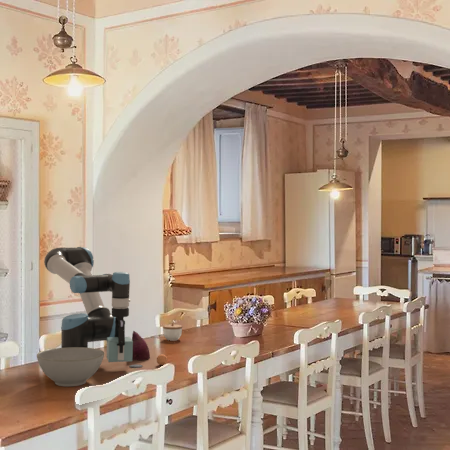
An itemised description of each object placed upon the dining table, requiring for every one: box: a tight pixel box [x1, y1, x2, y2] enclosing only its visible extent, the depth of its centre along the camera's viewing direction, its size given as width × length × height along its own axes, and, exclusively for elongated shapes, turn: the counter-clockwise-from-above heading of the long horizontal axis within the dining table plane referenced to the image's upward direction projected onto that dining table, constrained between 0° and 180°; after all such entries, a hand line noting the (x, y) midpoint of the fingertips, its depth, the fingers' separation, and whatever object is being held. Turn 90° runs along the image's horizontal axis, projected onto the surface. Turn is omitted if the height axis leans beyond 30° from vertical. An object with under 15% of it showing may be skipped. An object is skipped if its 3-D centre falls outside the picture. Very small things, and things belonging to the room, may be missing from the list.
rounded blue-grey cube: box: [106, 336, 133, 363], centre depth 304 cm, size 10×10×9 cm
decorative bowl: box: [36, 347, 105, 387], centre depth 280 cm, size 27×27×12 cm
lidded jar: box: [162, 322, 183, 342], centre depth 381 cm, size 11×11×9 cm
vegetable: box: [131, 330, 151, 361], centre depth 330 cm, size 10×10×15 cm
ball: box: [156, 353, 168, 366], centre depth 315 cm, size 5×5×5 cm
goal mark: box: [128, 364, 143, 369], centre depth 312 cm, size 6×6×1 cm
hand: (119, 357), depth 304 cm, fingers closed on rounded blue-grey cube, 10 cm apart
